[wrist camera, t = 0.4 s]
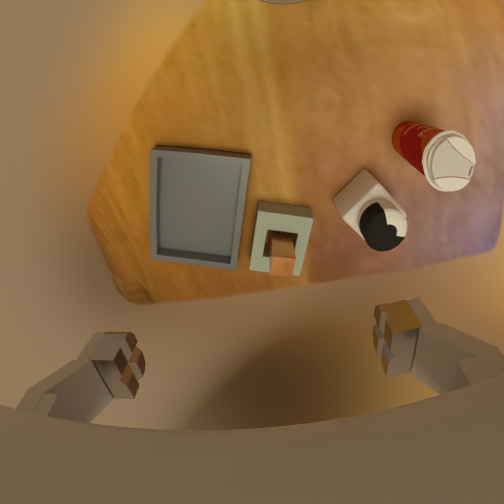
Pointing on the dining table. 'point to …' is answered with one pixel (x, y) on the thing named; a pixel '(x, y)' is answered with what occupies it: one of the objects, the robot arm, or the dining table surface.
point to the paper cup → (436, 154)
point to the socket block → (280, 220)
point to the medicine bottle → (372, 212)
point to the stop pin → (281, 253)
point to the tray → (197, 205)
